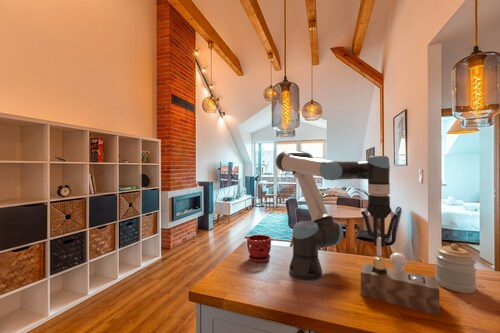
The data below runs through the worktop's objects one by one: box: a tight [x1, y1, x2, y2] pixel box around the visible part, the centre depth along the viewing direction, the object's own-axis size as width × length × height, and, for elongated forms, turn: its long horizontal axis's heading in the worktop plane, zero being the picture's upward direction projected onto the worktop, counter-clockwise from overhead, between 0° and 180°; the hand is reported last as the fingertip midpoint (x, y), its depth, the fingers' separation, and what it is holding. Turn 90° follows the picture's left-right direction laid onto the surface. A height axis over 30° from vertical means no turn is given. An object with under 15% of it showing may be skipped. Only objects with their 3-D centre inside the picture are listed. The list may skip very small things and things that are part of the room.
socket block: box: [360, 262, 440, 317], centre depth 89 cm, size 24×10×9 cm, turn 57°
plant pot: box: [246, 234, 272, 263], centre depth 127 cm, size 13×13×12 cm
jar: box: [434, 243, 477, 294], centre depth 98 cm, size 13×13×18 cm
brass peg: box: [372, 255, 387, 275], centre depth 92 cm, size 4×4×8 cm
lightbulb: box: [389, 252, 408, 271], centre depth 105 cm, size 6×6×11 cm
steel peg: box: [410, 275, 423, 283], centre depth 85 cm, size 4×4×8 cm
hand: (379, 254), depth 92 cm, fingers closed
